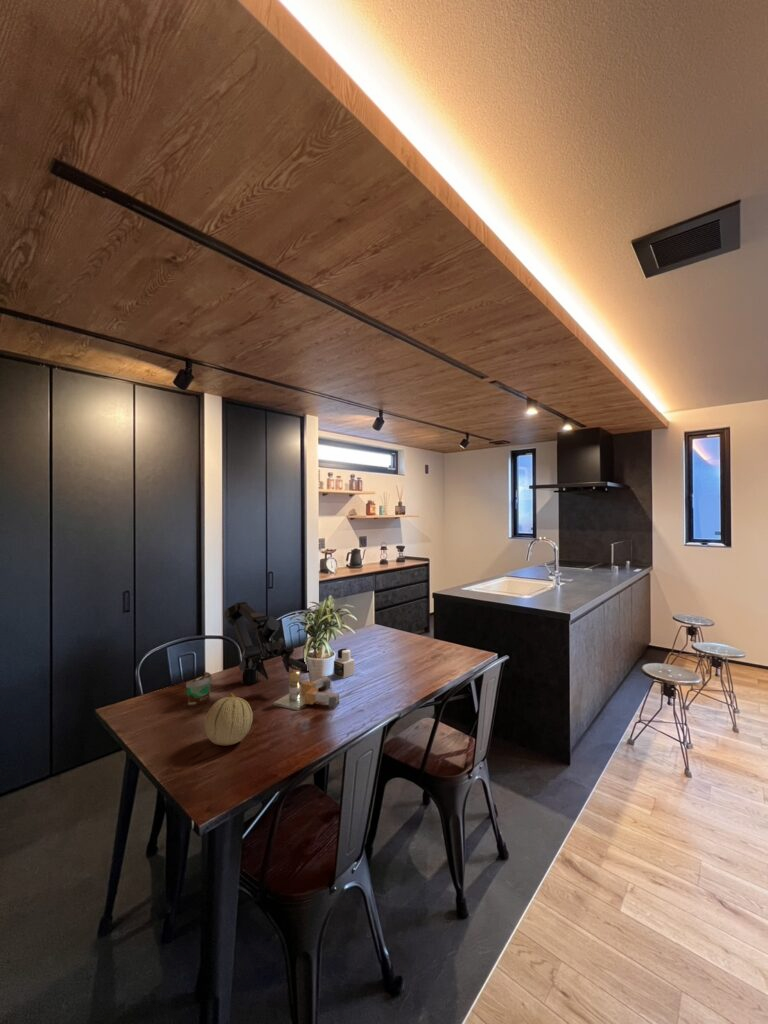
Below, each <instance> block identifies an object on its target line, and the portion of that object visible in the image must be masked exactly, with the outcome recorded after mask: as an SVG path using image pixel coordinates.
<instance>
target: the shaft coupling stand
mask: <svg viewBox="0 0 768 1024" xmlns="http://www.w3.org/2000/svg"><path fill="white" fill-rule="evenodd" d="M319 689H320V690H325V691H327V690H329V689H331V680H329V676H322V677H319V678H318V679H316V680H313V681H308V680H305V681H302V682H300V692H301V699H300V700H299V701H295V702H292V701H290V700H289V693H287V694H285V695H284V696H282V697H280V698H279V699H277V700H276V701H274V702H273V703H272V704H273V706H274V707H275V706H276V707H280V708H284V709H289V710H293V711H294V710H295V711H299V710H301V709H302V708H304V707H306V706H307V705H314V704H315V703H316V702H319V703H321V702H322V703H328V709H331V710H335V709H336V708H337V707H338V705H340V694H339V693H332V692H323V691H321V692H320V691H319Z"/></svg>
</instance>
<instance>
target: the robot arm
mask: <svg viewBox="0 0 768 1024" xmlns="http://www.w3.org/2000/svg"><path fill="white" fill-rule="evenodd" d="M224 617H225V618H226V621H227V622H228V624H230V625H231V626H233V629H234V630H235V634H236V636H237V640H238V642H239V644H240V647H241V649H242V655H241V661H240V663H239V665H238V667H239V671H241V672H242V681H240V684H241V685H246V686H253V685H255V684H256V683H258V682H261V681H262V680H261V679H260V678H259V674H261V676H262V677H263V678H264V679H265V680H266V681H268V680H269V676H268V672H267V670H266V667H265V664H264V662H267V661H270V660H273V659H276V658H279V657H281V658H282V660H281V661H282V664H283V666H284V668H285V671H286V672H287V674H289V671H290V664H289V658H291V656H292V655H293V654H294V652H295V649H294V647H293V646H292V645H289V646H286V647H283V648H282V646H285V640H284V638H283V637H280V638H278V639H277V641H276V640H275V639H274V638H273V636H274V635H275V633H277V631H278V630H279V628H280V625H281V623H280V621H279V620H278V619H276V618H274V616H273V615H271V616H267V615H266V614H265V613H260V612H257V611H256V610H255V609H254V608H252V607H251V606H250V605H249V604H248V602H247V601H240V602H236V603H234V604H233V605H231V606H230V607H227V608H226V610H225V611H224ZM244 618H245V619H246V620H247V621H248V625H249V627H250V628H251V630H252V631H257V630H258V631H257V632H256V633H255V639H258V643H259V646H260V648H259V646H258V645H257V646H254V645H253V641H252V640H251V637H250V635H249V632H248V629H247V627H246V624H245V621H244ZM280 649H282V650H281V651H280Z"/></svg>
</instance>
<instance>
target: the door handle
mask: <svg viewBox="0 0 768 1024" xmlns="http://www.w3.org/2000/svg"><path fill="white" fill-rule="evenodd" d="M304 658H305V657H301V658H296V659H295V658H294V657H290V658H289V665H291V666H292V667H293V666H294V667H293V668H295V667H296V668H295V669H297V668H298V669H297V670H299V669H300V671H304V672H305V673H308V672H307V666H306V665H307V664H305V662H304Z"/></svg>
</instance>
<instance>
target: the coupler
mask: <svg viewBox="0 0 768 1024" xmlns="http://www.w3.org/2000/svg"><path fill="white" fill-rule="evenodd" d="M288 692H289V693H288V694H289V700H290V701H292V702H295V701H299V700H300V699H301V670H299V669H292V670H289V673H288Z"/></svg>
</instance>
